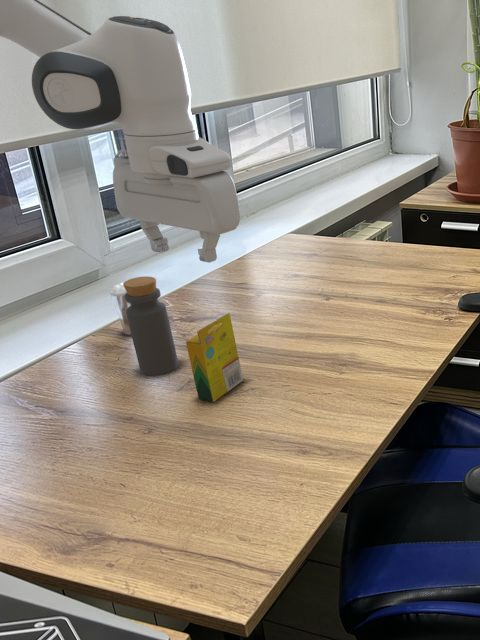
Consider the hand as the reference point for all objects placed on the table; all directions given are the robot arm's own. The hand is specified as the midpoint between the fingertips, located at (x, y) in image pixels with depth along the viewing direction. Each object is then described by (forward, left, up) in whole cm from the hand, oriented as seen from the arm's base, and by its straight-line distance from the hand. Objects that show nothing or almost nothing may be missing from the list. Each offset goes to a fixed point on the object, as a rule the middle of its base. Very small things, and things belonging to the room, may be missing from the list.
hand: (184, 255), depth 98 cm
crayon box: (+1, +1, -22) cm, 22 cm away
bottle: (-14, +2, -22) cm, 26 cm away
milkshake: (-30, +10, -22) cm, 39 cm away
